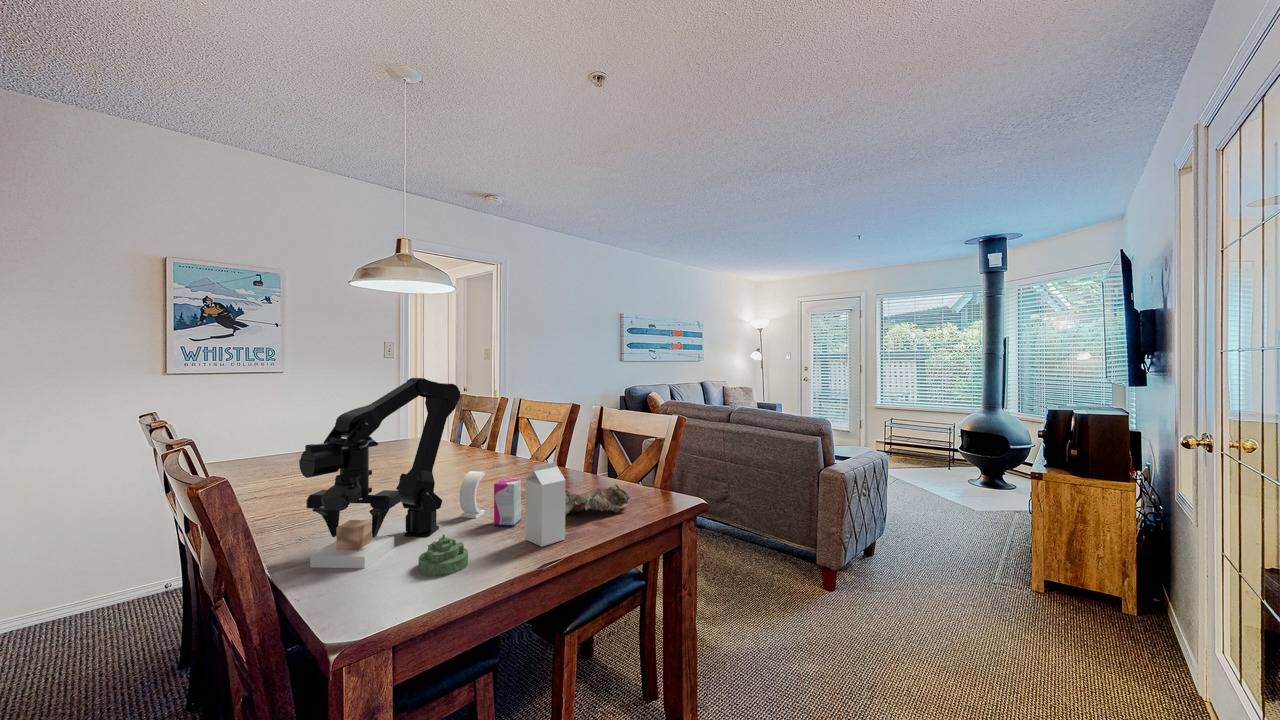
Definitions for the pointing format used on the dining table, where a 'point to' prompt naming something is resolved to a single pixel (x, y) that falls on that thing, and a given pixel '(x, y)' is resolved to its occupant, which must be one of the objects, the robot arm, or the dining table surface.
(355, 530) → the terracotta cube
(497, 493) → the supplement box
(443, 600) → the dining table surface
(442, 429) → the robot arm
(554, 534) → the milk carton
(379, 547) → the grey plate
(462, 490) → the headphone stand
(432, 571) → the decorative artifact
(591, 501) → the grey furry oblong lump
